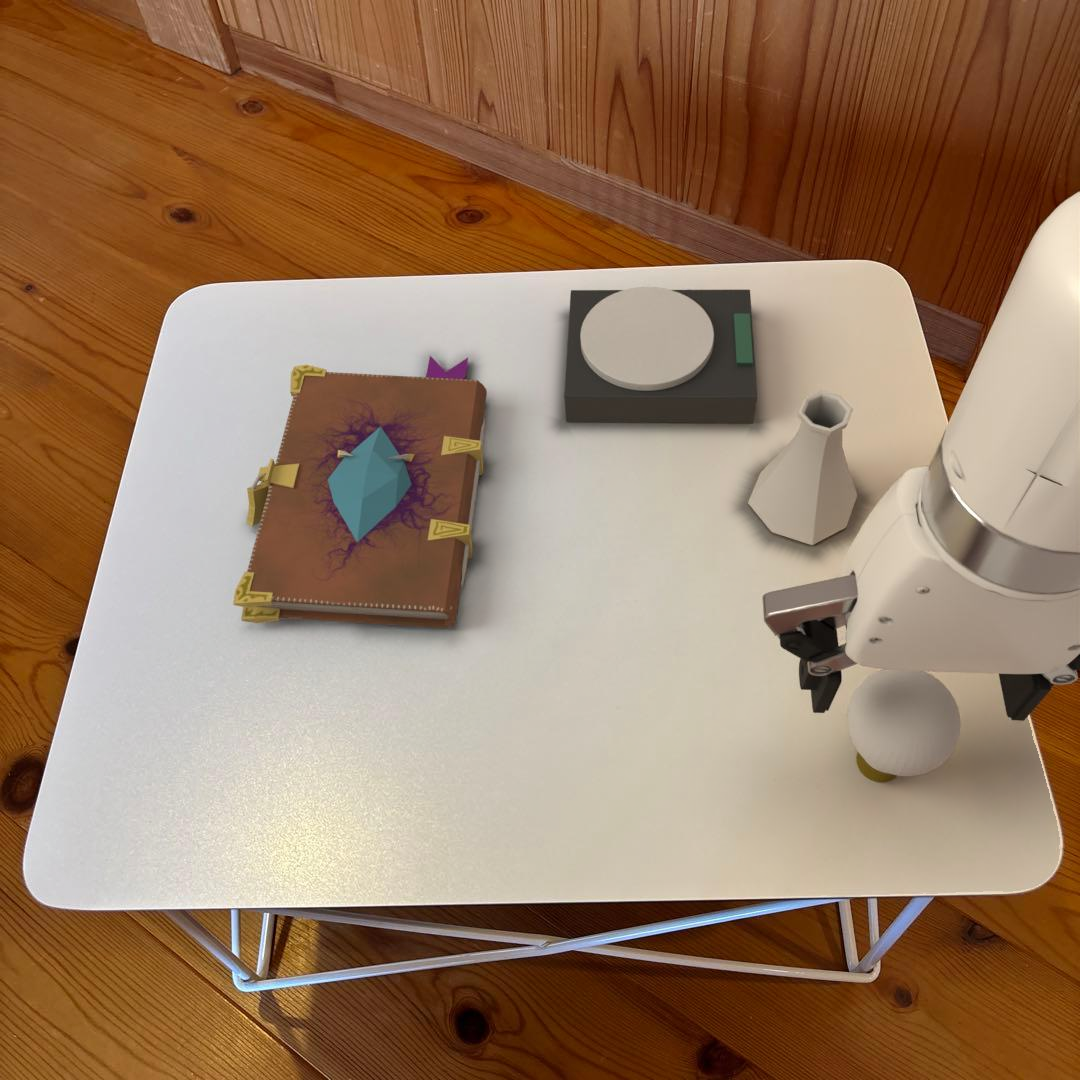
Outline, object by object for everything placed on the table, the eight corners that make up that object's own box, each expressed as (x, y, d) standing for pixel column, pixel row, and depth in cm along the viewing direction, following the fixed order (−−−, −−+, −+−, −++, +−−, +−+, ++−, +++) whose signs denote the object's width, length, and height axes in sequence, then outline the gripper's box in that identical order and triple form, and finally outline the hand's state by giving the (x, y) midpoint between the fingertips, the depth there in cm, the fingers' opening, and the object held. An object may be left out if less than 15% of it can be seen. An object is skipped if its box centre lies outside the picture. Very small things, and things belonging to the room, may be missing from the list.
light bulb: (807, 743, 64) (836, 673, 55) (889, 706, 65) (930, 631, 56) (860, 830, 61) (899, 769, 52) (946, 790, 62) (998, 724, 53)
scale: (746, 316, 83) (751, 281, 80) (753, 423, 78) (758, 389, 74) (572, 317, 85) (570, 282, 81) (565, 422, 79) (563, 389, 76)
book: (497, 367, 83) (494, 322, 79) (462, 643, 70) (456, 607, 66) (296, 357, 84) (283, 312, 80) (223, 627, 71) (203, 591, 67)
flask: (729, 506, 74) (743, 415, 65) (789, 444, 76) (811, 349, 68) (815, 563, 71) (841, 475, 62) (874, 496, 73) (908, 404, 65)
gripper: (1240, 423, 40) (1070, 631, 55) (789, 414, 42) (738, 620, 56) (1306, 589, 36) (1104, 767, 51) (804, 574, 37) (745, 752, 52)
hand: (912, 690), depth 53 cm, fingers open, 9 cm apart
